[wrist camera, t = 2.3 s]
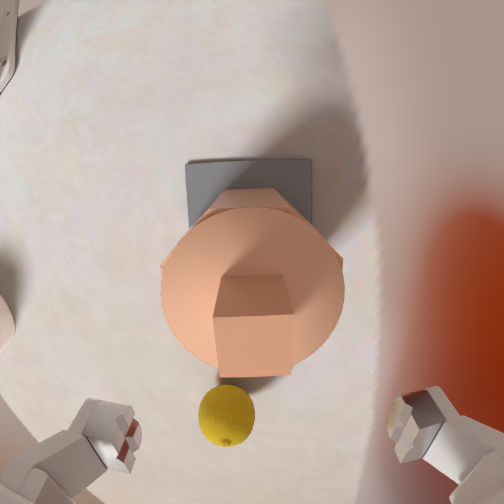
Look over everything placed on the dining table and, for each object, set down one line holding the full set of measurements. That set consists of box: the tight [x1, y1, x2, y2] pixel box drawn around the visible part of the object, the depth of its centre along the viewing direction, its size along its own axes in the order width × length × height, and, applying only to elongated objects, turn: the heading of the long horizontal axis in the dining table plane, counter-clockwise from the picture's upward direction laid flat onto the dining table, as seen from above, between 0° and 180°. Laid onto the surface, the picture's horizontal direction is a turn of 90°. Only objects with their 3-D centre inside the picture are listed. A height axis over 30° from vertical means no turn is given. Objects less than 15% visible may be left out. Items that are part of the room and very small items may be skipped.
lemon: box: [198, 385, 255, 447], centre depth 26 cm, size 6×6×8 cm
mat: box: [185, 160, 312, 228], centre depth 25 cm, size 14×10×1 cm
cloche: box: [160, 188, 345, 377], centre depth 18 cm, size 10×10×14 cm
